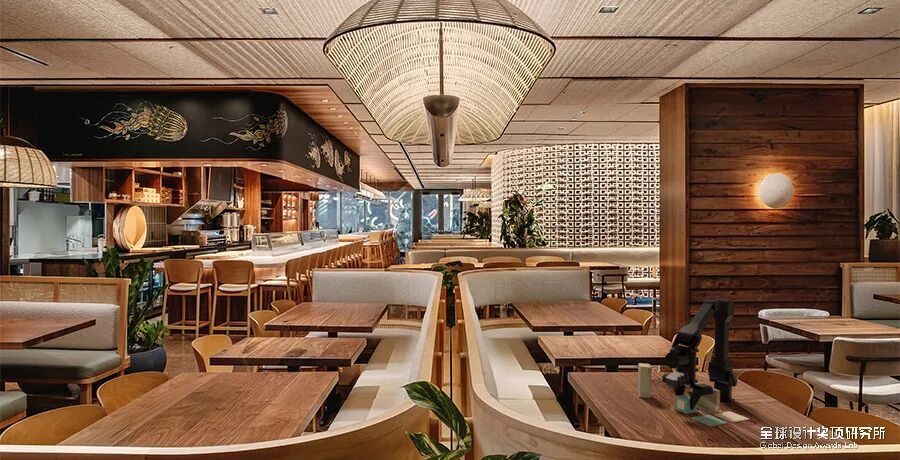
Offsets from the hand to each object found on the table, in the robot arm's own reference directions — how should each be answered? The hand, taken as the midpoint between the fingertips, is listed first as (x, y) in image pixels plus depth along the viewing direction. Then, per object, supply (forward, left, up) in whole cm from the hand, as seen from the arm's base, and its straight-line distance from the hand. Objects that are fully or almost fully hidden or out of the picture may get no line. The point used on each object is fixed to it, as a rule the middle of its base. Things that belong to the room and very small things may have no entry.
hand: (685, 407), depth 203 cm
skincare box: (+2, -19, -2) cm, 19 cm away
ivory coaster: (-10, +11, -1) cm, 15 cm away
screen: (-8, +1, -1) cm, 8 cm away
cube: (0, 0, -1) cm, 1 cm away
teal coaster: (+1, +11, -1) cm, 11 cm away
